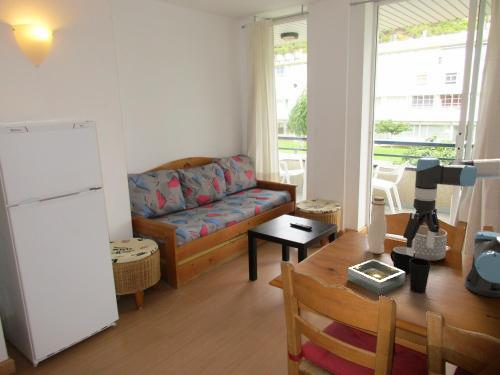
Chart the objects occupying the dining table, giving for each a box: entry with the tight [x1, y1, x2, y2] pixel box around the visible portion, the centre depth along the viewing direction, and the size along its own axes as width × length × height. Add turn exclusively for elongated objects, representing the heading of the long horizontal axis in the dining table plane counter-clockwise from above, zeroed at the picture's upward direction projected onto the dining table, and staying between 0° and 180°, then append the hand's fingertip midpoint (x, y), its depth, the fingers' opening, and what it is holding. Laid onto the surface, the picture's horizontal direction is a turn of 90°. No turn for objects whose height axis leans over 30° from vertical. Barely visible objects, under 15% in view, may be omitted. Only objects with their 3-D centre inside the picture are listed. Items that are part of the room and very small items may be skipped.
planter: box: [414, 225, 448, 262], centre depth 179 cm, size 16×16×13 cm
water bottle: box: [366, 195, 388, 255], centre depth 185 cm, size 10×9×28 cm
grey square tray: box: [347, 258, 406, 296], centre depth 153 cm, size 16×16×6 cm
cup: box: [409, 257, 432, 294], centre depth 145 cm, size 8×8×12 cm
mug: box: [389, 246, 416, 276], centre depth 163 cm, size 12×9×10 cm
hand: (420, 251), depth 143 cm, fingers open, 13 cm apart
